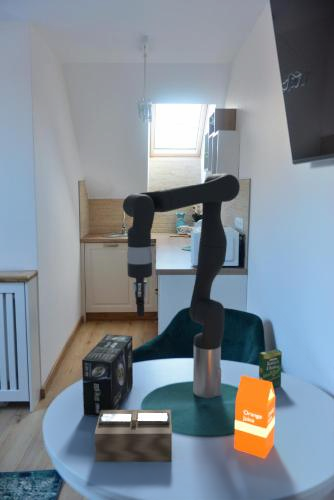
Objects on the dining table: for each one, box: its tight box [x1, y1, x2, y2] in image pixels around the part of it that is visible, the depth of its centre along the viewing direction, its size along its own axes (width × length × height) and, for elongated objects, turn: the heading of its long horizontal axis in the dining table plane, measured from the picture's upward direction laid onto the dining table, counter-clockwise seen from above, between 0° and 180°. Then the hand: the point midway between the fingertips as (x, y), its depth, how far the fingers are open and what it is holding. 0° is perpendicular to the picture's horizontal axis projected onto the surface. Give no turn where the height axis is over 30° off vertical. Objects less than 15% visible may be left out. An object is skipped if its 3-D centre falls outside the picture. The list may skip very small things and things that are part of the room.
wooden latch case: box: [94, 409, 173, 463], centre depth 121 cm, size 20×12×10 cm, turn 91°
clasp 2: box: [138, 413, 170, 425], centre depth 121 cm, size 9×4×1 cm, turn 91°
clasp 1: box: [97, 413, 131, 425], centre depth 121 cm, size 9×4×1 cm, turn 91°
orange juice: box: [233, 374, 276, 459], centre depth 121 cm, size 8×9×20 cm
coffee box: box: [258, 348, 283, 388], centre depth 158 cm, size 8×3×13 cm, turn 112°
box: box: [81, 333, 134, 417], centre depth 148 cm, size 23×10×19 cm, turn 168°
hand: (140, 315), depth 137 cm, fingers closed
